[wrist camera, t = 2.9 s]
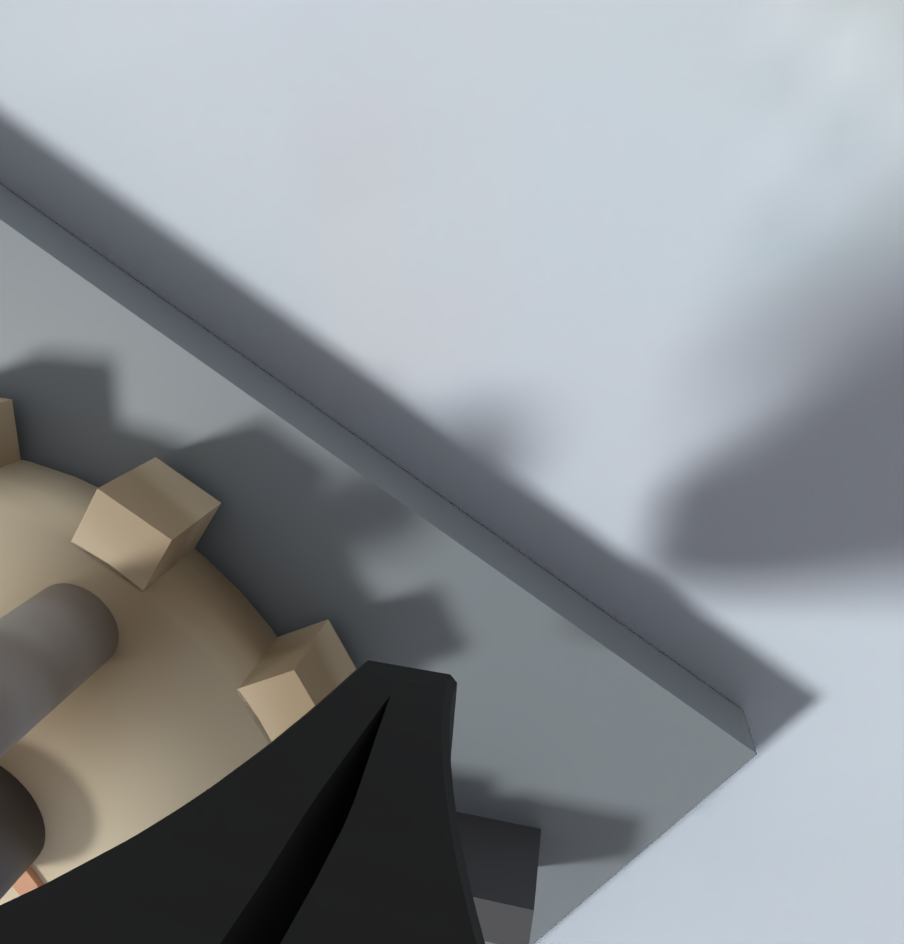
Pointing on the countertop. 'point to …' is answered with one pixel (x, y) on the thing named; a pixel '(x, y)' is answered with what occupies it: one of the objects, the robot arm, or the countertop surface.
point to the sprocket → (125, 662)
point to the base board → (373, 577)
